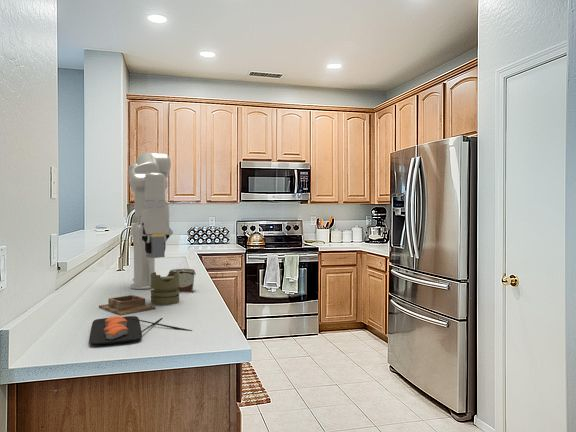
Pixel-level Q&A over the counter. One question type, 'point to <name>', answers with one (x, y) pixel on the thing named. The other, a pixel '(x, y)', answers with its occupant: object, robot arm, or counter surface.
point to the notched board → (126, 305)
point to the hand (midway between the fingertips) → (155, 252)
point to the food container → (185, 279)
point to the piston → (165, 289)
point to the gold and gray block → (157, 246)
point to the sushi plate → (119, 329)
